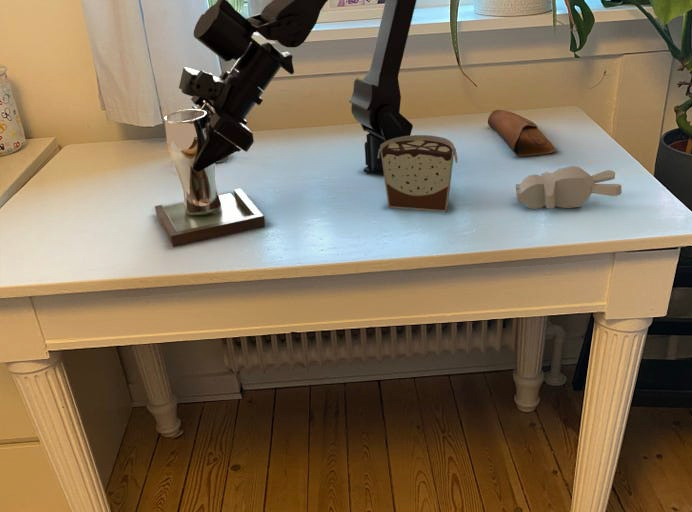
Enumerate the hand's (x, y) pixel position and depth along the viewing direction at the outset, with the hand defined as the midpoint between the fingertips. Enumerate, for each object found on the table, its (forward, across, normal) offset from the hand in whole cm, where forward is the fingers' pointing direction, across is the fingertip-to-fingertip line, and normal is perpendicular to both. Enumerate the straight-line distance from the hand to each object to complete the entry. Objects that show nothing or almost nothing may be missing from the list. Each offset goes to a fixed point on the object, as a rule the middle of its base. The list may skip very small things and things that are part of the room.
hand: (190, 163), depth 118 cm
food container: (-17, +14, +30) cm, 37 cm away
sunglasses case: (-38, -4, +50) cm, 63 cm away
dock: (+5, +4, +6) cm, 9 cm away
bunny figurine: (-31, +25, +43) cm, 59 cm away
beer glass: (+5, 0, +6) cm, 8 cm away
